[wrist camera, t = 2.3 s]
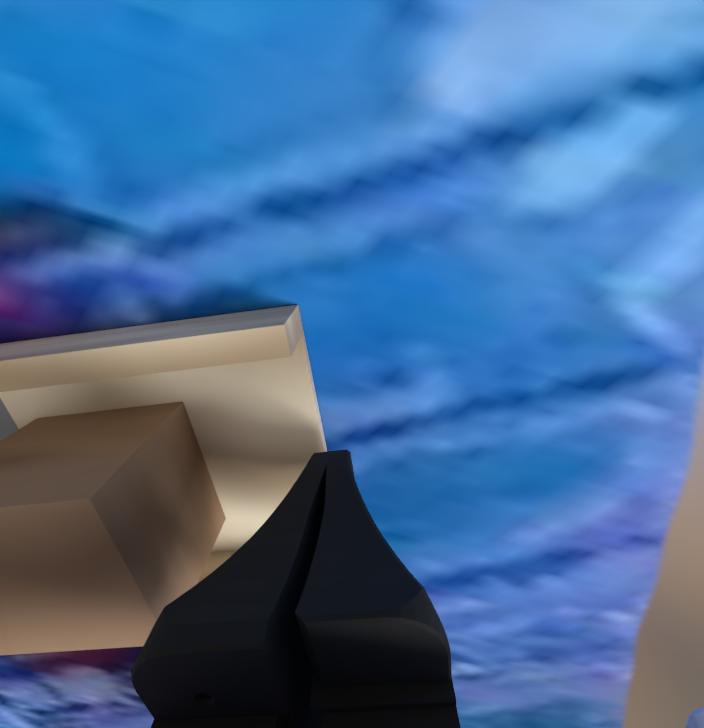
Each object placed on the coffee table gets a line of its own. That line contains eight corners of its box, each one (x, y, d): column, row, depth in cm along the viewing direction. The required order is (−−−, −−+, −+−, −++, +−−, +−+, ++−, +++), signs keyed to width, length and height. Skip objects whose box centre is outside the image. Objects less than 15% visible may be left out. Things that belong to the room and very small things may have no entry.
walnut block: (225, 518, 16) (169, 644, 11) (99, 529, 16) (-6, 655, 11) (182, 401, 13) (89, 499, 9) (37, 418, 14) (-126, 519, 9)
